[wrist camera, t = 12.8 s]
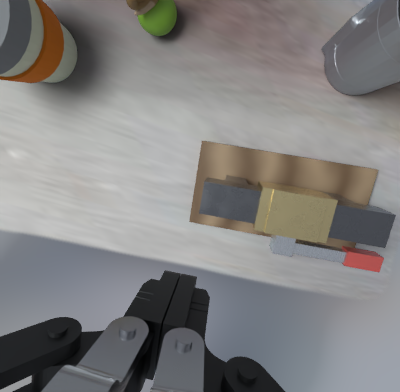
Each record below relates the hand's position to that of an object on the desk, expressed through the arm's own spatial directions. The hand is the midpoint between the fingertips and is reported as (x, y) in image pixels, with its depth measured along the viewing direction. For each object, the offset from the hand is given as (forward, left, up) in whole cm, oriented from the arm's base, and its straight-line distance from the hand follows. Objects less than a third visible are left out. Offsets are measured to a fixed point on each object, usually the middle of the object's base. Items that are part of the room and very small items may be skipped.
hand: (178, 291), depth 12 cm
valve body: (+7, +7, -30) cm, 32 cm away
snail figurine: (-24, +9, -32) cm, 41 cm away
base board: (+7, +7, -32) cm, 34 cm away
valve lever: (+9, +3, -22) cm, 25 cm away
